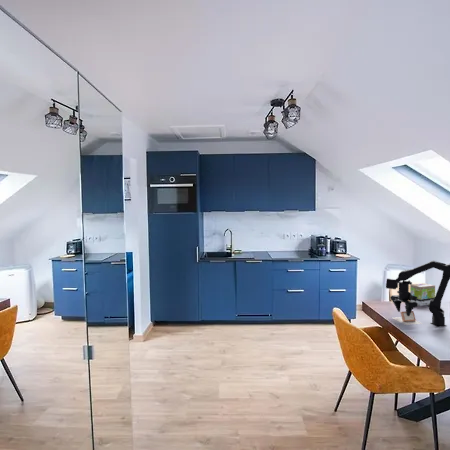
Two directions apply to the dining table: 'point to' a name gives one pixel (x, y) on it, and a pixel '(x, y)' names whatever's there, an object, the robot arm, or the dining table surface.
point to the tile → (408, 318)
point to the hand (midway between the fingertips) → (403, 313)
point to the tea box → (423, 293)
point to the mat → (406, 321)
